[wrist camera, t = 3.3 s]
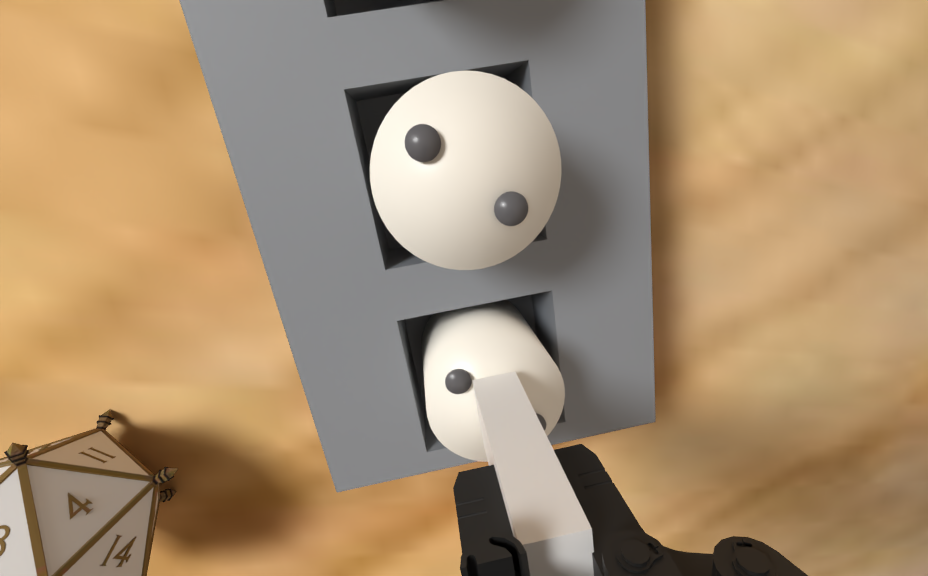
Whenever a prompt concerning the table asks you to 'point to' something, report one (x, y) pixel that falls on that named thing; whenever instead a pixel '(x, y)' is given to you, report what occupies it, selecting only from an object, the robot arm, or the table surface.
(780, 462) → the table surface
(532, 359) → the button
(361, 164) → the button board
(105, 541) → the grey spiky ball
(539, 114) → the button
